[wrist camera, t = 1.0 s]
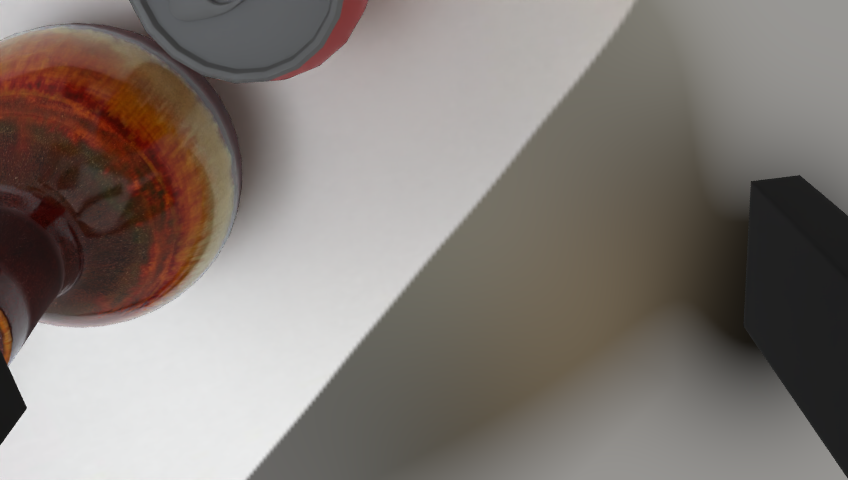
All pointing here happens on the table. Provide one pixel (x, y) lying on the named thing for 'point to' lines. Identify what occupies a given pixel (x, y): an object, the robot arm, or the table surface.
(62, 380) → the table surface
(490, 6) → the table surface
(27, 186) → the vase
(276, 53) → the beer can
